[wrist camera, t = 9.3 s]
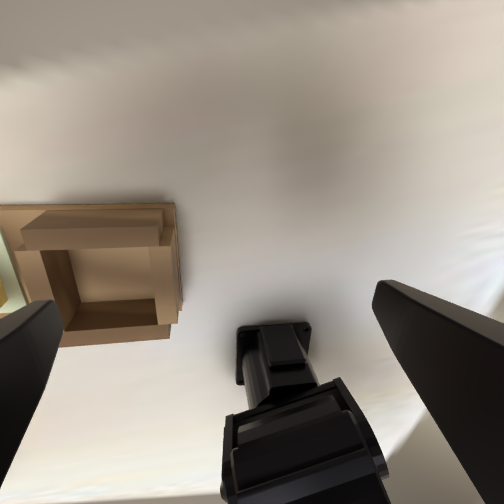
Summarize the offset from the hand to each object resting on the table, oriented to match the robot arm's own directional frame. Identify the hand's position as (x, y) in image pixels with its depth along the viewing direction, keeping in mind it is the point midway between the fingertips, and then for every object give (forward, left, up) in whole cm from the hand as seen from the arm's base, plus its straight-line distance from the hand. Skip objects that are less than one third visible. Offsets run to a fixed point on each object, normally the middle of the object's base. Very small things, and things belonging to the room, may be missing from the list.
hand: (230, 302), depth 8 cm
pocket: (-5, +6, -13) cm, 15 cm away
